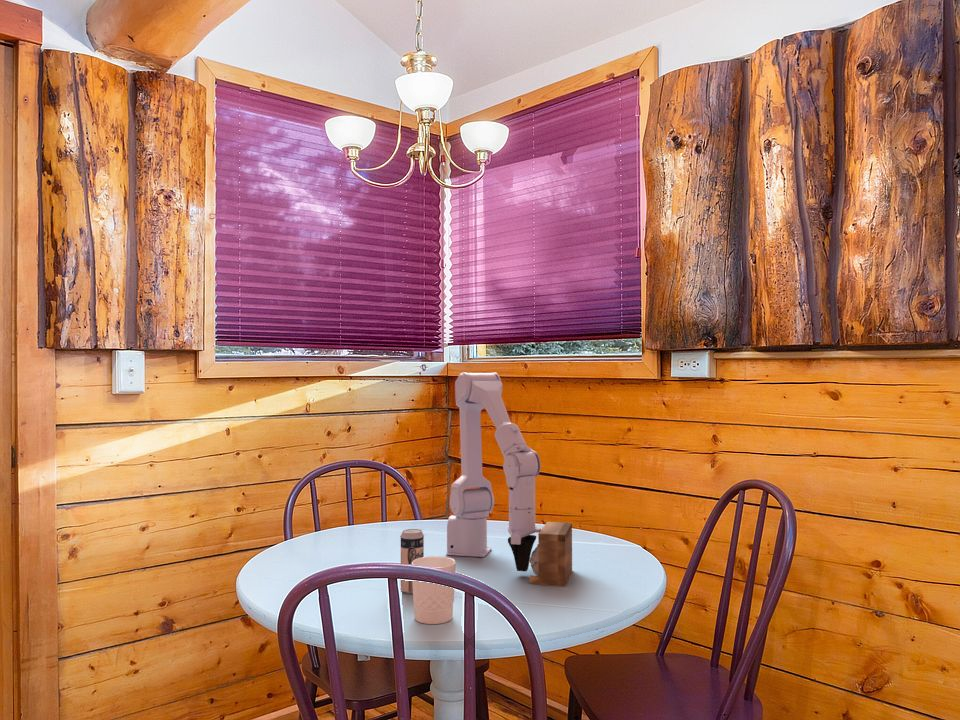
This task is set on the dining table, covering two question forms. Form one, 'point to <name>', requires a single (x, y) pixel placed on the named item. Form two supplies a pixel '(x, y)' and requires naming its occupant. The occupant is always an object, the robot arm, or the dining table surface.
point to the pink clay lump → (535, 561)
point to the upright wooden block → (554, 554)
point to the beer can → (411, 552)
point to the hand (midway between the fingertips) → (522, 570)
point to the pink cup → (433, 593)
